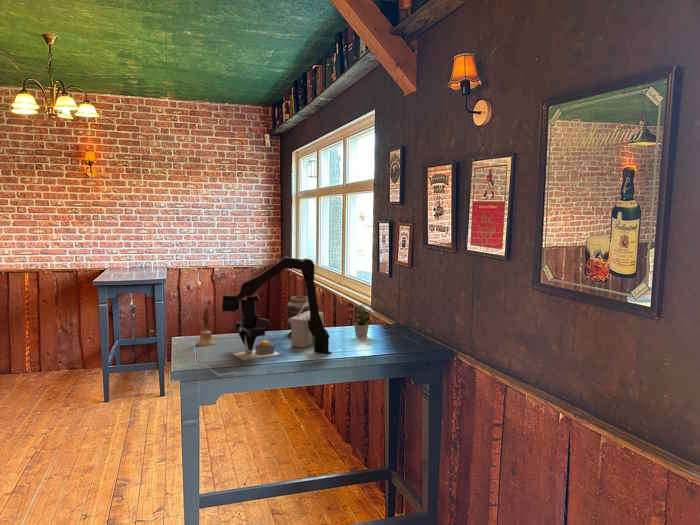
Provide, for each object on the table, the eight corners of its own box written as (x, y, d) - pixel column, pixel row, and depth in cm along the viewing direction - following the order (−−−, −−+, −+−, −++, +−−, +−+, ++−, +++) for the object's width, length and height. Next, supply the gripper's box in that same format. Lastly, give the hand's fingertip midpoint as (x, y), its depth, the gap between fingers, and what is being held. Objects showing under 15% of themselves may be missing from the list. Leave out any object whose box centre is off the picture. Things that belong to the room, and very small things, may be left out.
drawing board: (280, 356, 212) (280, 353, 211) (243, 361, 202) (243, 359, 202) (268, 350, 220) (268, 347, 220) (232, 355, 211) (232, 353, 211)
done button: (270, 346, 213) (270, 342, 213) (262, 348, 211) (262, 343, 211) (266, 344, 216) (266, 340, 216) (258, 346, 214) (258, 341, 214)
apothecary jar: (283, 335, 248) (283, 298, 246) (292, 330, 259) (292, 294, 258) (307, 337, 245) (307, 299, 243) (315, 331, 256) (315, 295, 255)
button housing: (274, 352, 213) (274, 345, 213) (261, 354, 210) (261, 347, 210) (268, 349, 218) (268, 342, 218) (255, 351, 215) (255, 344, 214)
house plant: (339, 334, 251) (340, 301, 250) (365, 332, 257) (365, 299, 256) (352, 341, 238) (352, 305, 237) (378, 338, 244) (379, 304, 243)
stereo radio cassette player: (305, 350, 221) (306, 303, 219) (288, 348, 224) (288, 302, 222) (324, 339, 241) (324, 296, 239) (308, 338, 244) (308, 295, 242)
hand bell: (208, 340, 235) (207, 306, 234) (219, 343, 230) (219, 308, 229) (192, 344, 229) (191, 308, 228) (203, 347, 224) (203, 310, 222)
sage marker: (254, 353, 212) (254, 335, 212) (246, 354, 210) (246, 336, 210) (250, 351, 215) (250, 333, 214) (243, 352, 213) (243, 334, 212)
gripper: (277, 313, 208) (276, 351, 210) (257, 306, 223) (257, 342, 225) (251, 316, 202) (251, 355, 203) (232, 308, 217) (232, 345, 218)
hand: (248, 349), depth 213 cm, fingers closed on sage marker, 3 cm apart
